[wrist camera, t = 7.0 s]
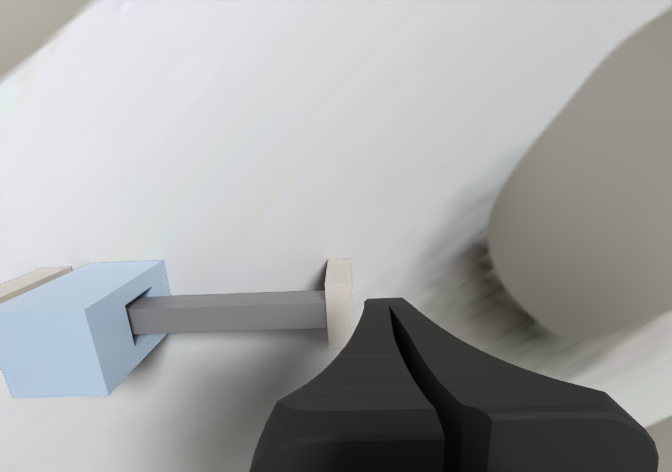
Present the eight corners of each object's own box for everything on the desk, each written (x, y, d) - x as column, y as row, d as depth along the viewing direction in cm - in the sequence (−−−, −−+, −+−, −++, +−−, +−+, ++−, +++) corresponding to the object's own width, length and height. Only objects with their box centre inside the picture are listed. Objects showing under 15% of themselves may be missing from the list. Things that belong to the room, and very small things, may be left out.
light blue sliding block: (163, 260, 21) (84, 309, 15) (176, 324, 23) (108, 395, 16) (90, 262, 22) (-20, 313, 15) (107, 326, 23) (12, 398, 16)
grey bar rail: (350, 255, 21) (352, 286, 16) (352, 315, 22) (355, 360, 18) (40, 267, 22) (-44, 301, 17) (58, 325, 23) (-16, 371, 18)
